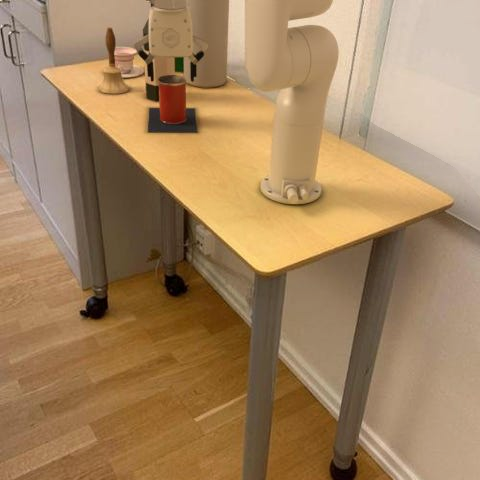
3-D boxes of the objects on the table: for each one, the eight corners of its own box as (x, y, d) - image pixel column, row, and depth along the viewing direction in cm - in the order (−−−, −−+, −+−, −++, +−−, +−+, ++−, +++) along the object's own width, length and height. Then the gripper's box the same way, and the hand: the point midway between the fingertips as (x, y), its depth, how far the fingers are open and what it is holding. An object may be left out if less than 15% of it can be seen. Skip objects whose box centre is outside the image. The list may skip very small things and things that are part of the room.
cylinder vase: (190, 72, 178) (190, -21, 162) (230, 77, 176) (233, -16, 160) (178, 85, 168) (177, -12, 152) (220, 90, 167) (223, -7, 151)
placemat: (197, 132, 143) (197, 132, 142) (147, 132, 141) (147, 132, 141) (194, 108, 155) (194, 108, 155) (149, 108, 154) (149, 107, 153)
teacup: (152, 71, 177) (151, 50, 173) (126, 81, 169) (124, 59, 165) (121, 63, 181) (120, 42, 177) (95, 73, 173) (92, 51, 169)
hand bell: (126, 83, 167) (121, 23, 157) (131, 93, 161) (127, 31, 151) (96, 85, 165) (90, 24, 155) (101, 95, 159) (94, 32, 149)
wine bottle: (181, 98, 160) (179, -26, 141) (154, 103, 156) (148, -24, 137) (166, 89, 165) (163, -32, 146) (140, 93, 161) (132, -30, 142)
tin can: (186, 125, 146) (186, 84, 139) (159, 124, 145) (158, 83, 139) (186, 114, 151) (185, 75, 145) (159, 114, 150) (158, 74, 144)
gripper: (129, 4, 127) (135, 84, 138) (209, 5, 129) (208, 85, 139) (131, -3, 133) (136, 75, 143) (207, -2, 135) (207, 75, 145)
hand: (172, 79), depth 141 cm, fingers open, 9 cm apart
